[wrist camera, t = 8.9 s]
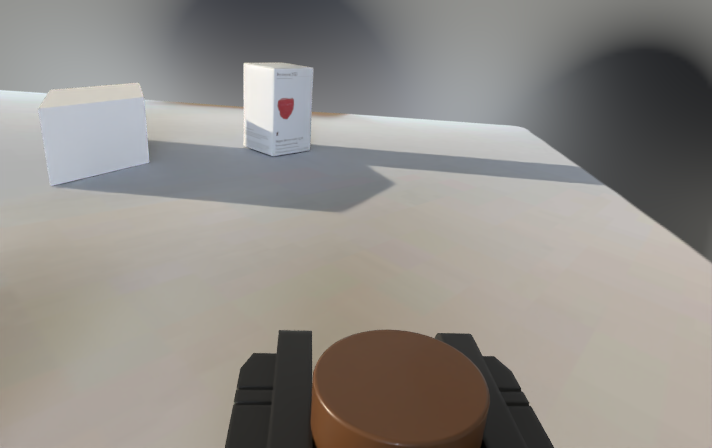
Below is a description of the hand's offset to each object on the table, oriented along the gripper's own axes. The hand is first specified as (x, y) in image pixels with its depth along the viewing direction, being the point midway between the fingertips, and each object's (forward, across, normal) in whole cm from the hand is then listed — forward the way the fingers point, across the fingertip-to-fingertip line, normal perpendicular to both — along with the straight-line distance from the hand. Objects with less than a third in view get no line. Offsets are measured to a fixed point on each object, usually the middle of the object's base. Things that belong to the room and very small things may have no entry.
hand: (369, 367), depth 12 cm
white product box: (+86, +7, +17) cm, 88 cm away
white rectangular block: (+74, +33, +17) cm, 83 cm away
